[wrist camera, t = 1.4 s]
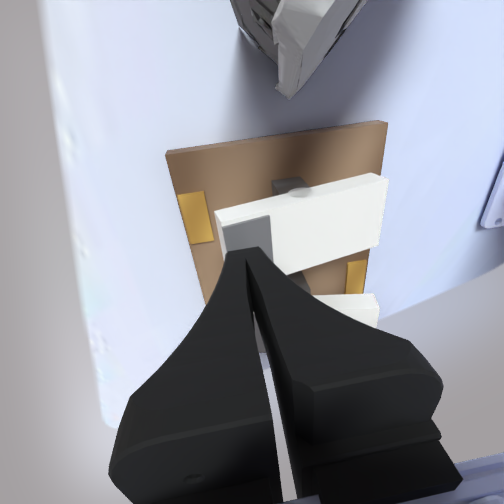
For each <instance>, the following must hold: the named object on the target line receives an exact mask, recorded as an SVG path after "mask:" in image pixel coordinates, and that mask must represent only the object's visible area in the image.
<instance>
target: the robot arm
mask: <svg viewBox="0 0 504 504" xmlns="http://www.w3.org/2000/svg"><path fill="white" fill-rule="evenodd" d="M480 224H481V226H482V227H484V228H486V229H489V228H495V227H501V226H504V162H503V164H502V167H501V169H500V172H499V175H498V177H497V180H496V183H495V185H494V188H493V190H492V193H491V196H490V198H489V201H488V204H487V206H486V209H485V212H484V214H483V217H482V219H481V223H480ZM253 311H254V314H253ZM254 315H255V318H256V321H257V324H258V328H259V331H260V334H261V337H262V341H263V344H264V347H265V350H266V353H267V357H268V360H269V364H270V368H271V372H272V377H273V381H274V386H275V391H276V396H277V400H278V405H279V410H280V415H281V420H282V424H283V429H284V434H285V439H286V444H287V449H288V454H289V459H290V464H291V469H292V474H293V479H294V484H295V489H296V494H297V499H295V500H290V501H286V502H283V497H282V489H281V481H280V472H279V464H278V456H277V449H276V442H275V434H274V427H273V419H272V413H271V408H270V403H269V398H268V393H267V388H266V383H265V379H264V375H263V370H262V365H261V361H260V356H259V352H258V347H257V342H256V337H255V326H254ZM442 390H443V383H442V379H441V378H440V376H439V375H438V374H437V372H436V371H435V370H434V369H433V367H432V366H431V365H430V363H429V362H428V361H427V360H426V358H425V357H424V356H423V355H422V354H421V353H420V352H419V351H418V350H417V349H416V348H415V346H414V345H413V344H412V343H411V342H410V341H408V340H406V339H403V338H400V337H398V336H394V335H392V334H389V333H387V332H384V331H381V330H379V329H376V328H373V327H371V326H369V325H366V324H364V323H362V322H360V321H357V320H355V319H353V318H351V317H349V316H347V315H345V314H343V313H341V312H339V311H337V310H335V309H334V308H332V307H330V306H328V305H326V304H325V303H323V302H321V301H320V300H318V299H317V298H315V297H314V296H312V295H311V294H309V293H308V292H307V291H305V290H304V289H302V288H301V287H300V286H299V285H297V284H296V283H295V282H294V281H293V280H291V279H290V278H289V277H288V276H287V275H286V274H285V273H284V272H283V271H281V270H280V269H279V268H278V267H277V266H276V265H275V264H274V263H273V262H272V261H271V259H270V258H269V257H268V256H267V255H266V254H265V253H264V251H263V250H262V249H261V248H260V247H259V246H257V247H251V248H245V249H239V250H233V251H228V252H227V253H226V254H225V260H224V264H223V268H222V271H221V274H220V276H219V279H218V281H217V284H216V286H215V288H214V291H213V293H212V295H211V297H210V299H209V301H208V303H207V305H206V306H205V308H204V310H203V312H202V313H201V315H200V317H199V318H198V320H197V321H196V323H195V324H194V326H193V327H192V329H191V330H190V331H189V333H188V334H187V336H186V337H185V338H184V340H183V341H182V342H181V343H180V345H179V346H178V347H177V348H176V349H175V351H174V352H173V353H172V354H171V355H170V356H169V358H168V359H167V360H166V361H165V362H164V363H163V365H162V366H161V367H160V368H159V369H158V370H157V371H156V372H155V373H154V374H153V375H152V376H151V377H150V378H149V379H148V380H147V381H146V382H145V383H144V384H143V385H142V386H141V387H140V388H139V389H138V390H136V391H135V392H134V393H133V394H132V395H131V396H130V398H129V401H128V403H127V406H126V409H125V411H124V414H123V417H122V419H121V422H120V425H119V428H118V432H117V436H116V440H115V444H114V448H113V452H112V456H111V460H110V464H109V473H108V475H109V477H110V478H111V480H112V482H113V483H114V485H115V486H116V487H117V488H118V489H119V490H120V491H121V492H122V493H123V494H124V495H125V496H126V497H127V498H128V499H129V500H130V501H131V502H132V503H133V504H504V452H503V453H499V454H494V455H490V456H486V457H481V458H477V459H472V460H468V461H463V462H459V463H454V464H453V462H452V461H451V459H450V457H449V456H448V454H447V453H446V451H445V450H444V448H443V447H442V445H441V443H440V442H439V440H440V439H441V437H442V436H441V433H440V431H439V430H438V428H437V427H436V425H435V423H434V422H433V420H432V419H431V417H432V415H433V413H434V411H435V409H436V407H437V405H438V403H439V400H440V398H441V394H442Z"/></svg>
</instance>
